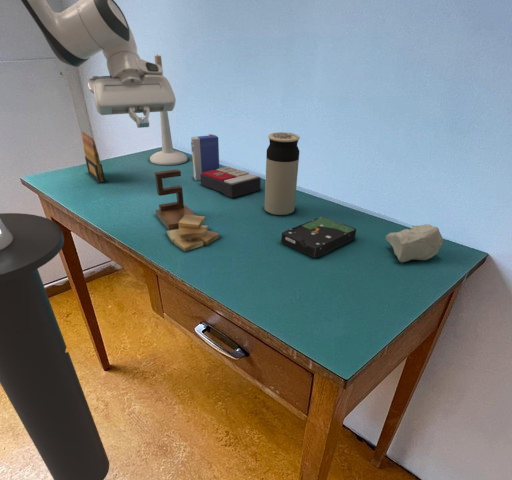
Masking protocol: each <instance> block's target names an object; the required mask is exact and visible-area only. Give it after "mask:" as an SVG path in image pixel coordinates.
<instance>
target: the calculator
mask: <svg viewBox="0 0 512 480" xmlns="http://www.w3.org/2000/svg"><path fill="white" fill-rule="evenodd" d="M200 177H201V180H200V185H201V186H204V187H207V188H209V189H212V190H214V191H218V192H221V194H223V195H224V197H225V196H226V197H227V198H231V199H235V198H238V197H241V196H244V195H248V194H252V193H254V192H258V191H261V177H260V176H259V175H256V174H253V173H250V172H248V171H246V170H242V169H237V168H235V167H231V166H224V167H219V169H216V170H211V171H207V172H203V173H202V174H201V175H200Z"/></svg>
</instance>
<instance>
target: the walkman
mask: <svg viewBox="0 0 512 480" xmlns="http://www.w3.org/2000/svg"><path fill="white" fill-rule="evenodd" d="M190 146H191V147H190V148H191V155H192V166H193V167H192V168H193V178H194V180H195V181H201V177H200V175H201V174H202V173H203V172H207V171H211V170H216V169H219V168H220V150H219V148H220V147H219V137H218V135H215V134H212V133H209V134H208V135H199V136H190Z"/></svg>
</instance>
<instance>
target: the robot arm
mask: <svg viewBox="0 0 512 480" xmlns="http://www.w3.org/2000/svg"><path fill="white" fill-rule="evenodd" d="M20 2H21V3H22V4H23V6H24V7H25V9H26V10H27V12H28V14H29V15H30V16H31V18H32V19H33V21H34V22H35V24H36V25H37V27H38V29H39V31H41V33H42V35H43V37H44V38H45V40H46V42H47V44H48V45H49V48H50V49H51V51H52V52H53V54H54V55H55V56H56V58H57V59H58V60H59V61H60V62H62V63H63V64H65V65H68V66H71V67H76V68H79V67H81V66H82V65H83V64H85V63H86V62H88V60H89V59H90V58H91V57H93V56H95V55H97V54H98V53H100V52H102V54H103V57H104V58H105V59H106V68H107V70H108V74H109V75H101V76H99V75H94V76H92V77H91V78H89V79H88V81H87V85H88V88H89V91H90V93H92V94H93V98H94V105H95V109H96V112H97V113H98V114H100V115H101V116H110V115H111V116H112V115H127V114H128V116H129V118H131V120H133V121H134V122H135V124H136V127H137V128H138V129H140V128H150V120H149V117H150V113H160V112H163V111H167V112H173V110H175V109H174V108H175V106H176V102H177V101H176V96H175V93H174V91H173V88H172V85H171V83H170V81H169V79H168V78H167V77H166V76H165V75H164V69H163V66H162V67H161V66H160V65H158V64H155V62H154V63H153V62H150V61H147V60H145V59H142V58H141V57H140V55H139V54H138V46H137V43H136V40H135V36H134V33H133V32H132V29H131V27H130V25H129V23H128V20H127V18H126V16H125V14H124V12H123V11H122V9H121V8H120V6H119V5H118V4H117V2H116V1H115V0H77V1H76V2H75V3H73V4H72V5H70V6H69V7H67V8H66V9H64V10H62V11H61V12H55V11H53V9H52V8H51V6H50V5H49V3H48V1H47V0H20ZM137 114H143V117H142V116H141V117H139V116H138V115H137ZM12 241H13V235H12V234H11V233H10V232H9V230H8V229H7V228H6V226H5V225H4V223H3V222H2V220H1V218H0V250H2V249H3V248H5V247H7V246H8V245H9V244H10V243H11V242H12Z"/></svg>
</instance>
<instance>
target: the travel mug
mask: <svg viewBox="0 0 512 480" xmlns="http://www.w3.org/2000/svg"><path fill="white" fill-rule="evenodd" d="M267 137H268V141H269V145H268V146H267V148H266V156H265V157H266V158H265V159H266V160H265V180H264V181H265V182H264V183H265V185H264V186H265V187H264V211H265V212H267V213H269V214H271V215H275V216H287V215H289V214H292V213H294V211H295V208H296V196H297V195H296V194H297V184H298V172H299V163H300V149H299V147H298V144H299V140H300V135H298V134H296V133H292V132H286V131H285V132H282V131H281V132H280V131H279V132H278V131H277V132H272V133H270V134H268V135H267Z"/></svg>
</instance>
